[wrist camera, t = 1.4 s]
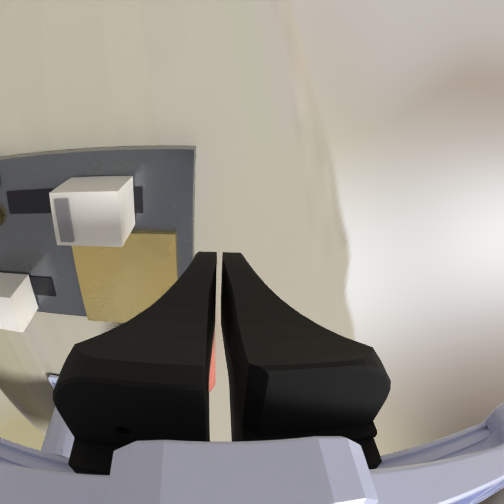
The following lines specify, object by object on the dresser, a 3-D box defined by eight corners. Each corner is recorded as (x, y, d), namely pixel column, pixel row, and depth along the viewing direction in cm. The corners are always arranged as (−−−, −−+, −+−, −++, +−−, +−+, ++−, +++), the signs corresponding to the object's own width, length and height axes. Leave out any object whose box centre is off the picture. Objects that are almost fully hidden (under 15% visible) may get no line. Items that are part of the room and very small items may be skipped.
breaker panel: (194, 312, 24) (193, 328, 22) (14, 299, 22) (5, 311, 20) (195, 146, 18) (193, 151, 17) (-16, 159, 16) (-31, 166, 15)
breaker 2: (135, 224, 19) (121, 248, 16) (76, 223, 18) (55, 246, 15) (132, 175, 17) (116, 192, 14) (71, 177, 17) (47, 194, 14)
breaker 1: (38, 307, 21) (21, 334, 18) (2, 303, 20) (-16, 327, 17) (28, 274, 19) (8, 299, 17) (-9, 271, 19) (-29, 294, 16)
